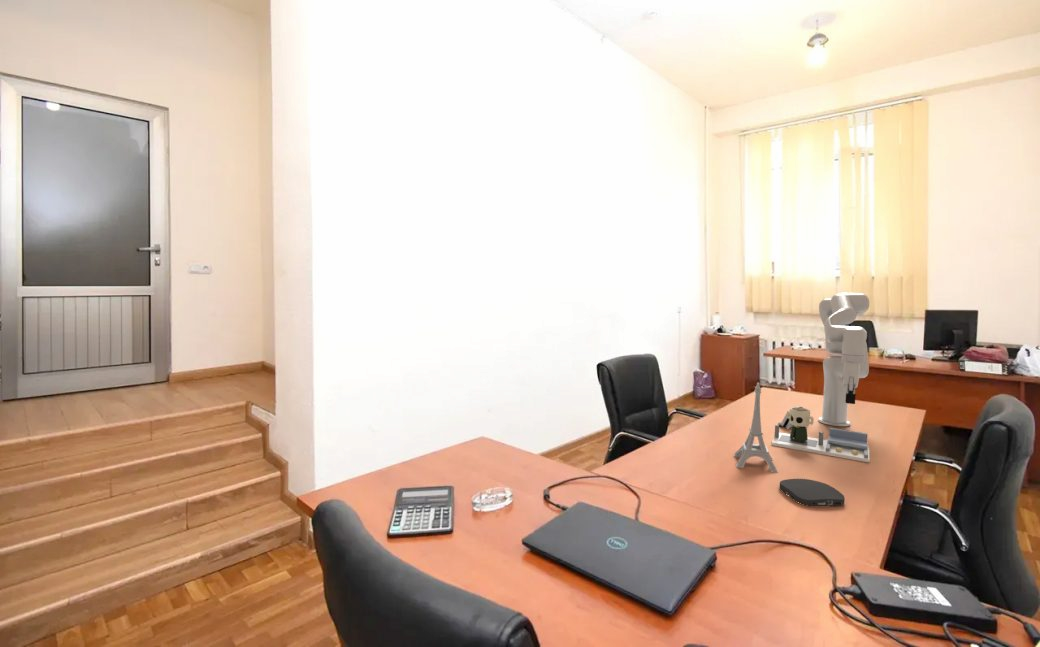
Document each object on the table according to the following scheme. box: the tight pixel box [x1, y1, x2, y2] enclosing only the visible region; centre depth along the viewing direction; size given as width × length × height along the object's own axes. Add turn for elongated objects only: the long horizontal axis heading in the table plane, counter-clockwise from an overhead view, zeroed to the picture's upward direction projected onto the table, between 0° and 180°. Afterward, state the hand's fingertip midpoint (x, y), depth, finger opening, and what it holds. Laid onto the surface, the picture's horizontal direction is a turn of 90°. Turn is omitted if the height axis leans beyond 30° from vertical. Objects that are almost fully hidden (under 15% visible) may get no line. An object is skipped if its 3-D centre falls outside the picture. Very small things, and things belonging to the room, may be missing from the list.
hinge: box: [777, 405, 804, 430], centre depth 220 cm, size 17×5×10 cm, turn 128°
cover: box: [827, 427, 869, 449], centre depth 187 cm, size 8×12×4 cm, turn 54°
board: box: [771, 424, 870, 463], centre depth 190 cm, size 16×32×6 cm, turn 54°
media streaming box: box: [778, 478, 845, 507], centre depth 147 cm, size 15×15×3 cm
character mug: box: [786, 406, 815, 442], centre depth 194 cm, size 11×7×13 cm, turn 28°
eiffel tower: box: [733, 382, 779, 473], centre depth 172 cm, size 13×13×30 cm
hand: (850, 403), depth 193 cm, fingers closed
